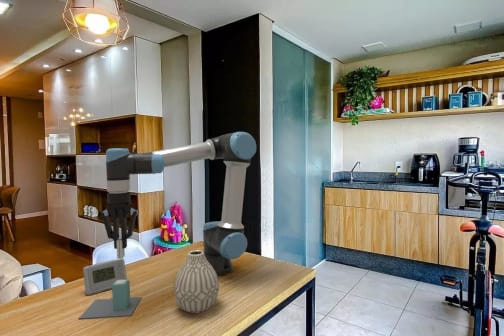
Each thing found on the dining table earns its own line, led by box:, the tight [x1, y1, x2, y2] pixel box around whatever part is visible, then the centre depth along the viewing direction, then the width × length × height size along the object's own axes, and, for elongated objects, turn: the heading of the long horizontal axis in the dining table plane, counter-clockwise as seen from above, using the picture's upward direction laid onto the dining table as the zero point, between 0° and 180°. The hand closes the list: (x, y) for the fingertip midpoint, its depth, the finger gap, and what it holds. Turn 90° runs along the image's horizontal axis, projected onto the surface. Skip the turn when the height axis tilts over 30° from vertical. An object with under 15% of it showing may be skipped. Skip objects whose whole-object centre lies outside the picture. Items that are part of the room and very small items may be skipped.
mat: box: [78, 296, 143, 320], centre depth 107 cm, size 17×13×1 cm
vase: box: [173, 249, 220, 314], centre depth 106 cm, size 16×16×20 cm
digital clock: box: [82, 257, 128, 296], centre depth 123 cm, size 16×9×11 cm, turn 121°
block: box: [111, 278, 131, 310], centre depth 107 cm, size 4×4×9 cm
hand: (120, 257), depth 107 cm, fingers closed
